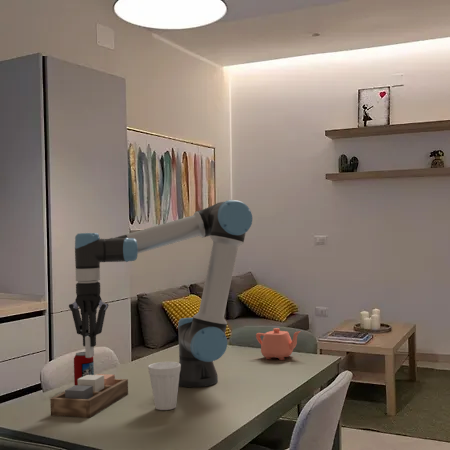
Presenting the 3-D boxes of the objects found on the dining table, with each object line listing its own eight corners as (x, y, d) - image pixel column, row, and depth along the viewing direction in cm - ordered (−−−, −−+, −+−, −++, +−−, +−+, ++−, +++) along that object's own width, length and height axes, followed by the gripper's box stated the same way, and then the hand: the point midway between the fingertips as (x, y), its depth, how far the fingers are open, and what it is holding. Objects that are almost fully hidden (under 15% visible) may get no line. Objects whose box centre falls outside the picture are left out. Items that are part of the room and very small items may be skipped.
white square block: (104, 387, 195) (103, 375, 196) (95, 392, 190) (94, 379, 190) (87, 387, 197) (86, 374, 197) (77, 392, 191) (77, 379, 191)
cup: (169, 414, 180) (167, 370, 180) (142, 410, 185) (141, 367, 185) (188, 406, 188) (187, 363, 188) (162, 402, 193) (161, 360, 194)
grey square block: (93, 399, 188) (92, 385, 188) (83, 404, 182) (82, 391, 183) (75, 398, 190) (75, 385, 190) (65, 403, 184) (64, 390, 184)
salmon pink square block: (115, 386, 203) (114, 374, 203) (106, 391, 197) (106, 378, 197) (98, 386, 204) (98, 373, 204) (89, 390, 199) (89, 378, 199)
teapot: (297, 362, 245) (296, 332, 245) (250, 359, 253) (249, 330, 253) (307, 356, 257) (306, 326, 257) (262, 353, 265) (261, 325, 265)
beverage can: (89, 390, 211) (88, 355, 211) (71, 389, 213) (70, 355, 213) (97, 385, 218) (96, 351, 218) (79, 384, 219) (78, 351, 219)
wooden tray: (128, 394, 204) (127, 379, 204) (90, 417, 179) (89, 400, 179) (92, 392, 208) (92, 377, 208) (50, 415, 183) (50, 398, 183)
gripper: (112, 280, 196) (114, 355, 195) (75, 280, 199) (77, 353, 199) (101, 282, 188) (103, 359, 188) (63, 282, 192) (65, 358, 192)
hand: (89, 356), depth 193 cm, fingers closed
